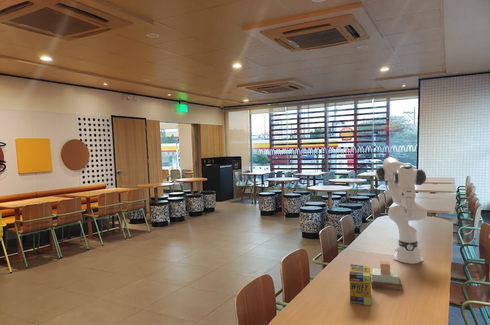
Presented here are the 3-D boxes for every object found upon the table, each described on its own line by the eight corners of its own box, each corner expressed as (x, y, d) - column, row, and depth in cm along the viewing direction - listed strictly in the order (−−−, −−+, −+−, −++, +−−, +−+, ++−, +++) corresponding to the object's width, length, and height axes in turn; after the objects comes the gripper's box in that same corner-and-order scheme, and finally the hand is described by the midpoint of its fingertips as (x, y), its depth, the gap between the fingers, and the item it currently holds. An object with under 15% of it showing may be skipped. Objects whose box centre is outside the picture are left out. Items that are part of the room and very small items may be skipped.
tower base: (370, 280, 198) (370, 274, 198) (399, 282, 193) (398, 276, 193) (371, 289, 187) (371, 282, 187) (402, 291, 182) (402, 284, 182)
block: (380, 270, 193) (380, 260, 192) (389, 271, 191) (389, 261, 191) (380, 273, 188) (380, 263, 188) (390, 274, 186) (389, 264, 186)
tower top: (372, 274, 197) (372, 268, 197) (398, 277, 192) (397, 270, 192) (372, 281, 188) (372, 274, 188) (398, 284, 183) (398, 277, 182)
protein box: (349, 303, 170) (349, 274, 170) (351, 290, 185) (350, 263, 184) (371, 305, 167) (370, 276, 166) (370, 292, 181) (370, 265, 180)
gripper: (398, 189, 207) (398, 211, 207) (404, 194, 187) (405, 218, 188) (408, 189, 205) (409, 211, 206) (416, 194, 185) (417, 218, 186)
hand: (407, 214), depth 196 cm, fingers open, 8 cm apart
